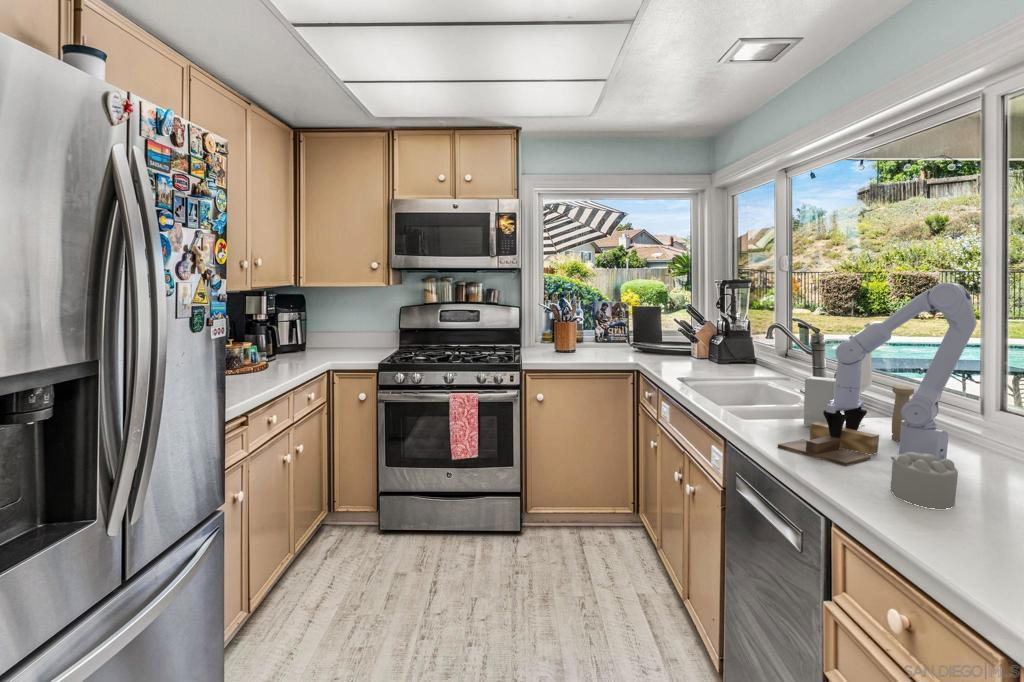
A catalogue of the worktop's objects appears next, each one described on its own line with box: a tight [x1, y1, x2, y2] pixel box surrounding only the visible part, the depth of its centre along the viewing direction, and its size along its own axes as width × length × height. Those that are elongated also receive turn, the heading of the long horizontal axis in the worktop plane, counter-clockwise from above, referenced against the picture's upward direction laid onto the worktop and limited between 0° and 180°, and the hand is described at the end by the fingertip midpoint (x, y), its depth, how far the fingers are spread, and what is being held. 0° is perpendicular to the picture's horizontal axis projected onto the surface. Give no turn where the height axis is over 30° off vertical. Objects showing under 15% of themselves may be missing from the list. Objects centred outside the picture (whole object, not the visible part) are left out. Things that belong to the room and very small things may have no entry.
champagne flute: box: [844, 352, 873, 425], centre depth 189 cm, size 7×7×24 cm
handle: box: [891, 384, 915, 441], centre depth 171 cm, size 5×6×15 cm
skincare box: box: [803, 375, 836, 427], centre depth 185 cm, size 8×6×15 cm
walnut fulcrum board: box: [777, 436, 871, 467], centre depth 157 cm, size 18×11×4 cm, turn 33°
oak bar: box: [809, 422, 880, 455], centre depth 163 cm, size 16×4×5 cm, turn 35°
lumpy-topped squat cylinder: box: [890, 452, 959, 509], centre depth 125 cm, size 10×13×9 cm
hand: (842, 436), depth 163 cm, fingers open, 7 cm apart
